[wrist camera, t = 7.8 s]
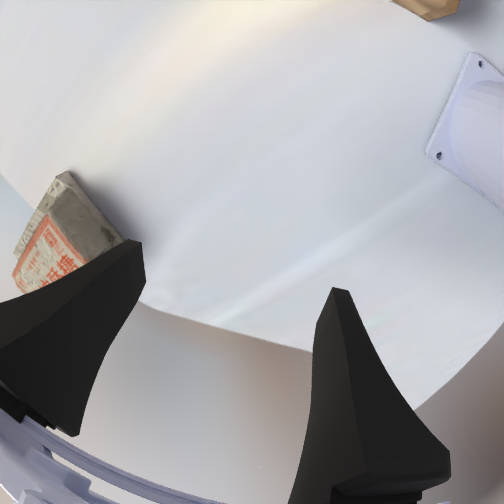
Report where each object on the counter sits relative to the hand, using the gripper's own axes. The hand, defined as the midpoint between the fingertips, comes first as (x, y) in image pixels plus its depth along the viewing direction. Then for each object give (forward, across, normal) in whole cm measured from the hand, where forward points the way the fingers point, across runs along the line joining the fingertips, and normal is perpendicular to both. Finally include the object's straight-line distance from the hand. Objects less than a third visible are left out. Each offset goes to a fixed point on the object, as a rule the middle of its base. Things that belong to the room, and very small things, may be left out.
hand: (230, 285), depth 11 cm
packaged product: (+11, +20, +11) cm, 25 cm away
